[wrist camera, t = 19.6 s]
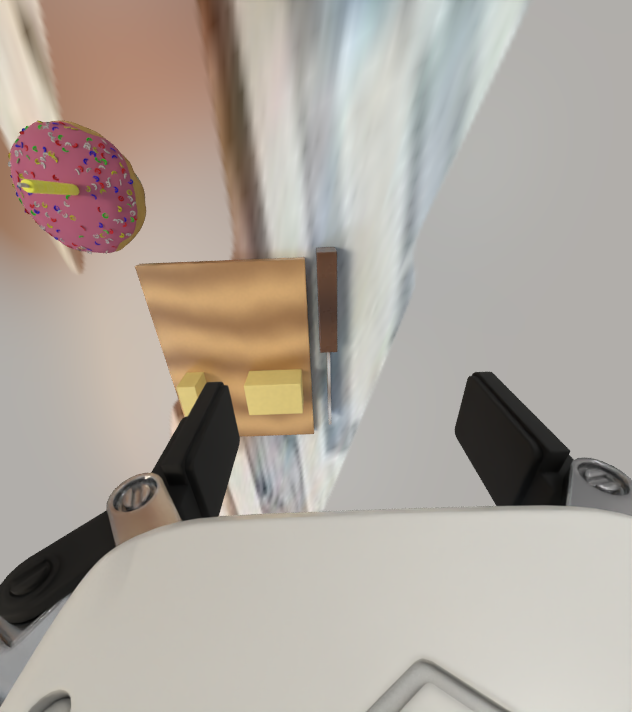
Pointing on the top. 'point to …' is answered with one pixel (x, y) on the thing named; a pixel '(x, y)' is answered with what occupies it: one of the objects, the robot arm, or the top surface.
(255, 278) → the board
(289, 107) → the top surface
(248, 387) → the butter
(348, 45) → the top surface
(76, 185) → the birthday cake
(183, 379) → the butter pat
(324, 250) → the knife
